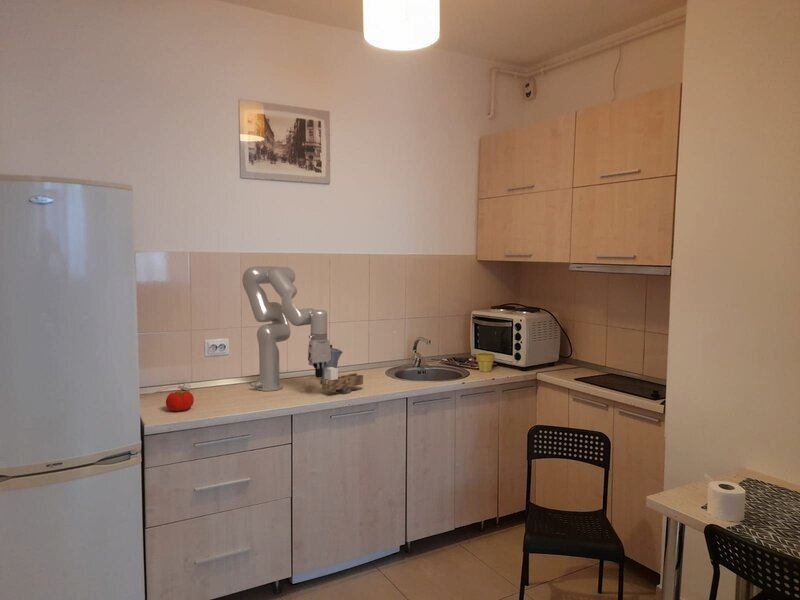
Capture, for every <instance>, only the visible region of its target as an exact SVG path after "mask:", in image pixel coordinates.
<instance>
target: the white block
mask: <svg viewBox="0 0 800 600" xmlns="http://www.w3.org/2000/svg"><path fill="white" fill-rule="evenodd" d="M338 372H339V368H338V367H337V368H334V367H328V368H324V379H328V380H326V384H328V381H330V380H336V379H338V376H339V373H338Z"/></svg>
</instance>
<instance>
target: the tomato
mask: <svg viewBox="0 0 800 600" xmlns="http://www.w3.org/2000/svg"><path fill="white" fill-rule="evenodd" d="M194 398H195V397H194V395H193V393H191V392H190V391H188V390H185V391H180V390H179V391H178V390H177V391H174V392H171V393H169V394H168V395H167V396H166V398H165V406H166V408H167V409H168V410H170V411H173V412H176V413H177V412H183V411H187V410H189V409H191V408H192V406H193V404H195V403H194V401H195V399H194Z"/></svg>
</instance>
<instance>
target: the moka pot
mask: <svg viewBox="0 0 800 600" xmlns="http://www.w3.org/2000/svg"><path fill="white" fill-rule="evenodd" d="M330 350H331V360H330V361H329V363H327V364H325V365H324V368H328V367H334V368H338V364H339V359H340V358H341V356H342V354H343V351H342V350H341V349H339V348H335V347H333V344H330ZM324 368H323V374H322V377H320V384H322V379H324Z"/></svg>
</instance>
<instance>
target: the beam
mask: <svg viewBox="0 0 800 600" xmlns="http://www.w3.org/2000/svg"><path fill="white" fill-rule="evenodd" d="M326 380H328V379H322V383H321V389H323V390H326V391H329V392H331V391H335V393H338V394H341V395H348V394H351V387H355V386H356V387H357V386H362V385H364V375H363V374H358V373H356V372H355V373H350V374H344V375H338V379H336V380H330V381H328V384H326Z"/></svg>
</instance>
